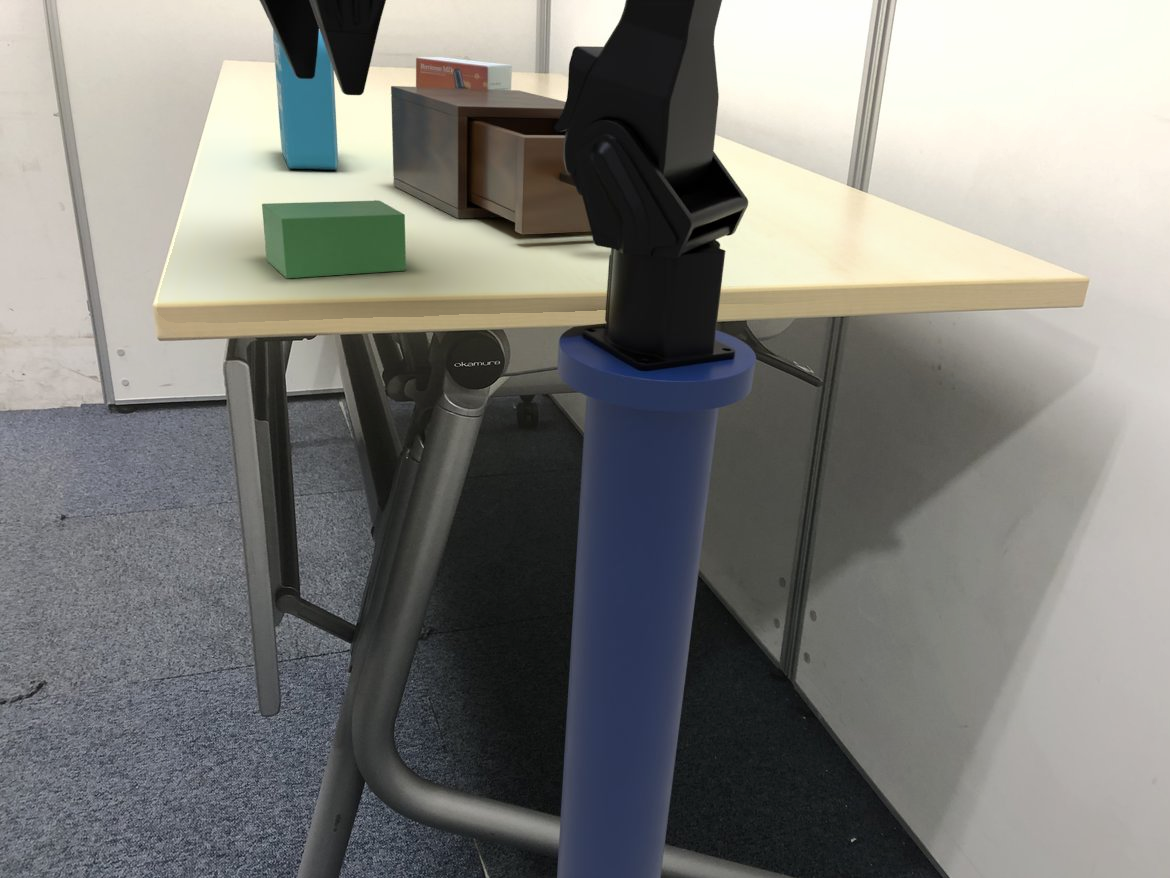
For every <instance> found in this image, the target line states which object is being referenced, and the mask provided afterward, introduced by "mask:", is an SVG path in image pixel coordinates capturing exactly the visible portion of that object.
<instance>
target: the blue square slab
mask: <svg viewBox="0 0 1170 878" xmlns="http://www.w3.org/2000/svg"><path fill="white" fill-rule="evenodd" d="M272 38H273V53H274V67H275V80H276V81H275V82H276V93H277V94H276V95H277V109H278V122H279V134H280V136H279V137H280V146H281V152H282V155H283V157H284V160H285V162H286V165H287V167H288V168H289V169H290V170H327V171H330V170H331V171H335V170H338V166H339V150H338V149H339V148H338V147H339V146H338V131H337V130H338V129H337V128H338V127H337V109H336V107H337V106H336V89H335V72H334V69H333V67H332V64H331V61H330V58H329V55H328V53H327V50H326V47H325V44H324V41H323V38H322V35H321V32H320V29H319V38H318V51H317V60H316V69H315V76H314V78H313V79H300V78H297V77H296V76H295V74H294V72H293V70H292V68H291V66H290V63H289V61H288V59H287V57H286V55H285V53H284V51H283V49H282V46H281V44H280V42H279V40H278V38H277V36H276V34H275V32H274V29H273V28H272Z"/></svg>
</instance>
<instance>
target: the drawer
mask: <svg viewBox="0 0 1170 878" xmlns="http://www.w3.org/2000/svg"><path fill="white" fill-rule="evenodd" d="M558 120H559V119H543V118H491V117H467V200H468V201H470V202H472V203H474V204H476V205H478V206H480V207H483V208H485V209H487V210H489V211H491V212H493V213H495V214H498V215H500V216H502V217H501V218H504V219H506V220H508V221H510V222H513V223H514V231H515V232H516V233H518V234H520V235H541V234H544V235H545V234H558V233H562V234H563V233H581V232H582V233H584V232H591V229H590V225H589V221H588V217H587V213H586V209H585V205H584V201H583V197H582V195H581V193H580V192H579V191H578V190H577V188H576V186H575V184H574V182H573V180H572V178H571V176H570V175H569V174H568V173H567V172H566V170H565V165H564V159H563V149H564V138H565V135H566V131H561V132H557V131H556V130H555V125H556V123H557V121H558Z"/></svg>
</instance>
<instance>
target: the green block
mask: <svg viewBox="0 0 1170 878" xmlns="http://www.w3.org/2000/svg"><path fill="white" fill-rule="evenodd" d="M261 211H262V222H263V234H264V243H265V244H264V247H265V258H266V261H267V262H268V264H270V265H271V266H272V267H273V268H274V269H276V270H277V271H278V273H280V274H281V275H282V276H283V277H284V278H285V279H297V278H298V279H299V278H313V277H329V276H342V275H343V276H345V275H359V274H373V273H389V272H404V271H407V258H406V257H407V256H406V255H407V253H406V251H407V250H406V215H405V214H404V213H403V212H401V211H399V210H398V209H396V208H393V207H392V206H391V205H389V204H386V203H384V201H381V200H351V201H350V200H348V201H346V200H345V201H313V202H312V201H310V202H274V203H271V202H270V203H262V204H261Z"/></svg>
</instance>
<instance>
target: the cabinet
mask: <svg viewBox="0 0 1170 878" xmlns="http://www.w3.org/2000/svg"><path fill="white" fill-rule="evenodd" d="M390 95H391V96H390V99H391V101H390V103H391V137H392V138H391V140H392V175H393V187H395V188H397V189H399V190H401V191H403V192H405V193H407V194H409V195H410V196H412V197H415V198H417V199H419V200H420V201H422V202H424V203H426V204H428V205H431V206H432V207H435V208H436V209H438V210H440V211H442V212H444V213H447V214H448V215H450V216H452V217H455V219H487V218H489V219H490V218H503V217H502V216H500V215H498V214H495V213H493V212H491V211H489V210H487V209H485V208H483V207H480V206H478V205H476V204H474V203H472V202H470V201H468V200H467V117H491V118H543V119H559V118H560V116H561V115H562V113H563V110H564V106H565V103H566V101H564V100H560V99H556V98H553V97H547V96H544V95H540V94H535V93H531V92H527V91H522V90H515V89H511V90H491V89H463V88H435V87H416V86H404V85H401V86H400V85H391V86H390Z"/></svg>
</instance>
